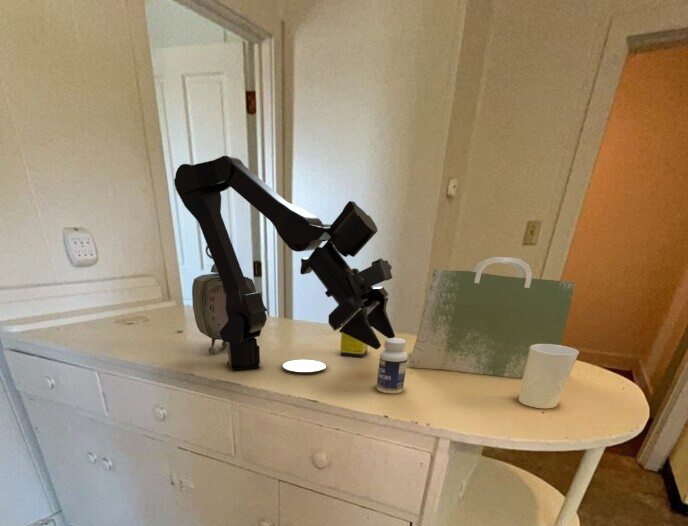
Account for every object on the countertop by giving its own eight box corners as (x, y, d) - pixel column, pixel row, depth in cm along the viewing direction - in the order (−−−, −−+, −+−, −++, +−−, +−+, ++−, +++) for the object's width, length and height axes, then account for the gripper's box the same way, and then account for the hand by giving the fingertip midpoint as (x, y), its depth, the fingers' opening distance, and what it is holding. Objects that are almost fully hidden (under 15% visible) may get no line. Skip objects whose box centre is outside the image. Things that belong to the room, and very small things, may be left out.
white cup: (507, 395, 84) (521, 343, 79) (545, 395, 85) (561, 343, 80) (528, 410, 78) (545, 355, 72) (568, 409, 78) (589, 354, 73)
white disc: (291, 376, 94) (291, 373, 93) (277, 364, 101) (277, 361, 101) (332, 372, 97) (332, 369, 96) (315, 360, 105) (315, 358, 104)
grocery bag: (544, 364, 104) (578, 256, 91) (555, 381, 93) (596, 260, 80) (411, 353, 111) (426, 251, 99) (407, 367, 100) (423, 255, 88)
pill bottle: (371, 389, 87) (375, 340, 81) (385, 383, 90) (391, 335, 85) (393, 396, 84) (400, 344, 78) (407, 389, 87) (415, 340, 82)
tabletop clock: (207, 356, 107) (194, 240, 93) (195, 348, 113) (182, 239, 100) (259, 349, 113) (254, 240, 99) (245, 342, 119) (239, 239, 106)
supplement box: (367, 352, 112) (371, 307, 106) (362, 357, 107) (366, 311, 101) (345, 350, 114) (348, 305, 108) (339, 355, 109) (342, 309, 103)
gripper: (348, 243, 68) (406, 322, 70) (383, 240, 83) (431, 306, 84) (304, 294, 76) (358, 364, 77) (343, 283, 90) (388, 343, 92)
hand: (386, 342), depth 83 cm, fingers open, 9 cm apart
